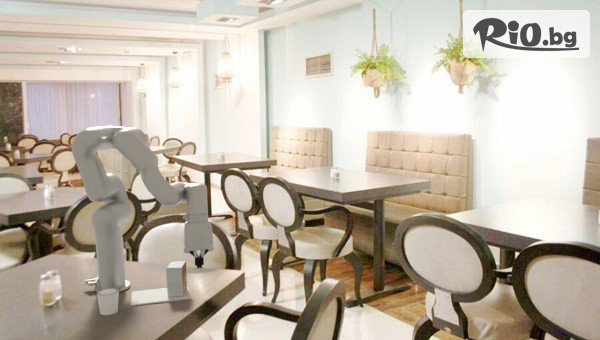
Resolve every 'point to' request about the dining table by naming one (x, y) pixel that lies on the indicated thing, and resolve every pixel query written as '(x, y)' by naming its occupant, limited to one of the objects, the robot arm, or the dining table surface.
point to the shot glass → (108, 301)
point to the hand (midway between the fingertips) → (199, 267)
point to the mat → (156, 296)
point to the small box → (176, 278)
